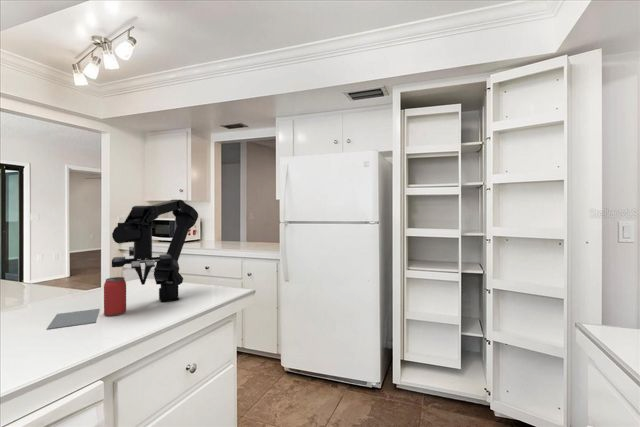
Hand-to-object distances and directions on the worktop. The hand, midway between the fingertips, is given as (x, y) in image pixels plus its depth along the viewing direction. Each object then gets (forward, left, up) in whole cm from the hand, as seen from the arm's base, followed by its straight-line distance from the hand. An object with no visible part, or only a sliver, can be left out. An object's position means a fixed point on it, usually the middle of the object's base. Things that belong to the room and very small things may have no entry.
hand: (143, 284), depth 117 cm
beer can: (+8, 0, -9) cm, 13 cm away
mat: (+19, 0, -9) cm, 21 cm away
